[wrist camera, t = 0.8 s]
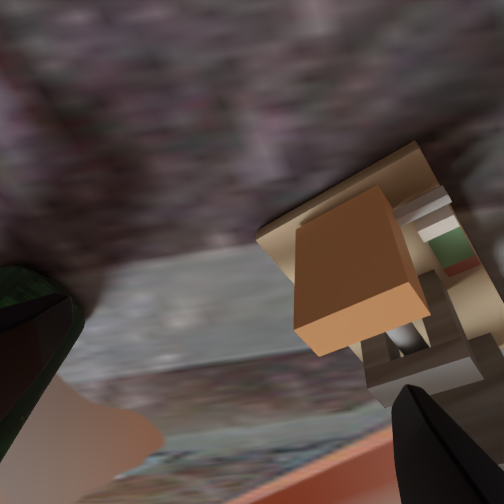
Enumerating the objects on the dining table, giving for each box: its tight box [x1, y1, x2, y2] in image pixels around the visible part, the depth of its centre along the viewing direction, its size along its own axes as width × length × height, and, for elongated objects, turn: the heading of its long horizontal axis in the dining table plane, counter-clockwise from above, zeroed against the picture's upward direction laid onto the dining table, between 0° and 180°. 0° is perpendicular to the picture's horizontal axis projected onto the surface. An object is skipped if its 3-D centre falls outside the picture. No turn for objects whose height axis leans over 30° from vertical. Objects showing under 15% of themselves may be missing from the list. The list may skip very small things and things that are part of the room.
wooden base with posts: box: [256, 140, 504, 471], centre depth 23 cm, size 16×10×9 cm, turn 37°
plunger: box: [294, 185, 452, 357], centre depth 20 cm, size 9×8×8 cm
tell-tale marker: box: [413, 204, 460, 243], centre depth 20 cm, size 1×2×1 cm, turn 128°
